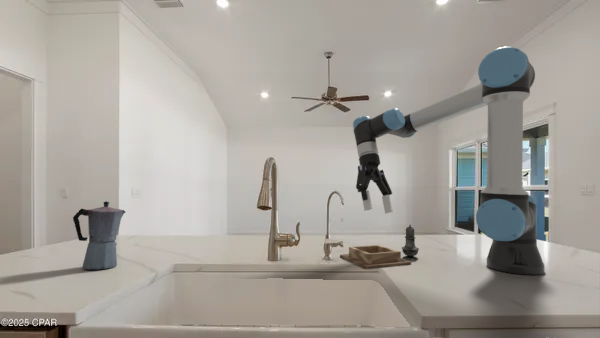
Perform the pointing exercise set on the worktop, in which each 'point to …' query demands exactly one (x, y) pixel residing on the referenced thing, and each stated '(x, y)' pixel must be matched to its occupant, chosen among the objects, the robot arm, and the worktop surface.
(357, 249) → the holder
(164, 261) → the worktop surface
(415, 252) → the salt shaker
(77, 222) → the moka pot
